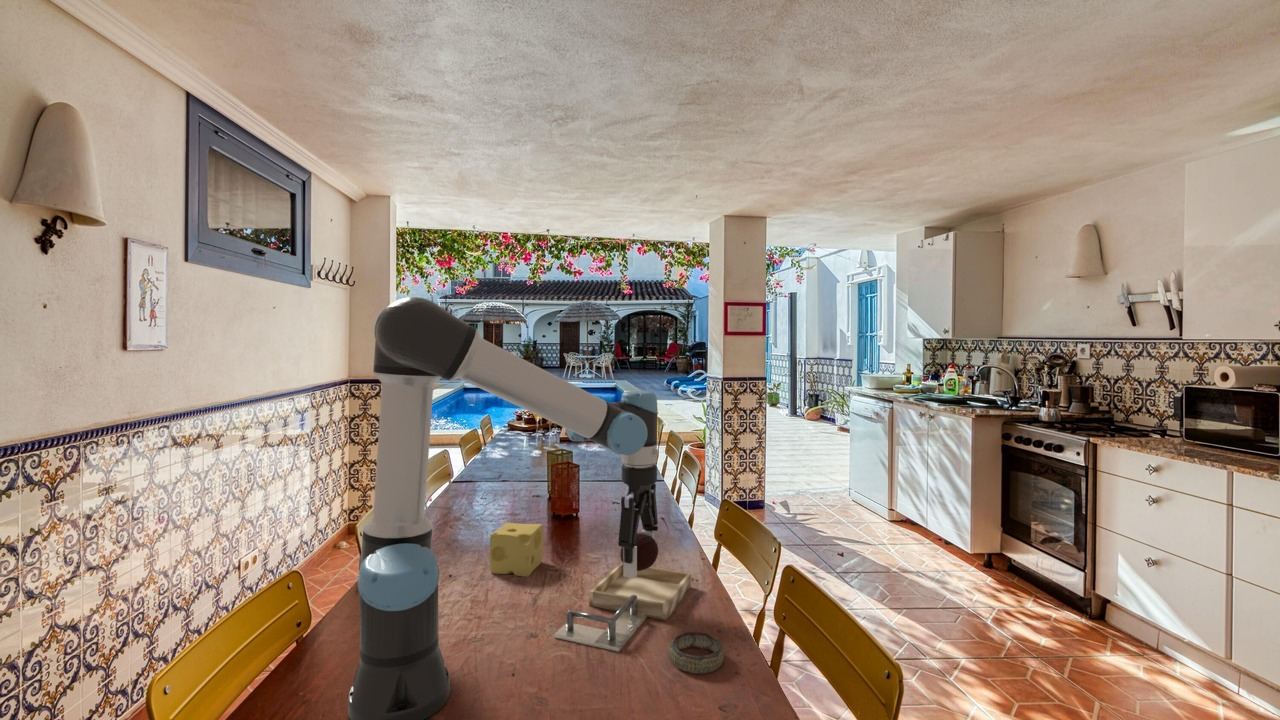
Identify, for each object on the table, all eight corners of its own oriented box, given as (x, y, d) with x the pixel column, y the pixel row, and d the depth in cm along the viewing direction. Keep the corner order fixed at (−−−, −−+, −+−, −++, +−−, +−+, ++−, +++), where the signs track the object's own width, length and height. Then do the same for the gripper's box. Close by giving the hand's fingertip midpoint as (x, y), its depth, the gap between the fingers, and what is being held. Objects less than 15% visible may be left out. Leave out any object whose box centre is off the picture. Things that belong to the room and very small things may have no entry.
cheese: (528, 578, 143) (528, 537, 142) (487, 574, 145) (487, 533, 144) (544, 561, 153) (544, 523, 152) (505, 558, 155) (505, 520, 155)
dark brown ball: (667, 567, 128) (667, 532, 127) (639, 581, 121) (639, 544, 120) (638, 558, 133) (638, 524, 132) (610, 571, 126) (610, 535, 125)
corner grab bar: (618, 651, 110) (618, 627, 110) (554, 637, 115) (554, 613, 114) (649, 614, 125) (649, 592, 124) (591, 602, 130) (591, 581, 129)
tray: (666, 620, 122) (666, 605, 122) (589, 605, 128) (589, 591, 128) (690, 586, 138) (691, 573, 138) (621, 575, 145) (621, 562, 145)
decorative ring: (736, 664, 107) (698, 640, 115) (736, 646, 106) (698, 624, 114) (693, 683, 100) (657, 657, 109) (694, 664, 100) (657, 640, 108)
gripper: (635, 477, 114) (635, 591, 115) (672, 455, 134) (672, 553, 135) (600, 473, 117) (600, 585, 118) (642, 452, 137) (641, 548, 138)
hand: (638, 568), depth 127 cm, fingers closed on dark brown ball, 9 cm apart
